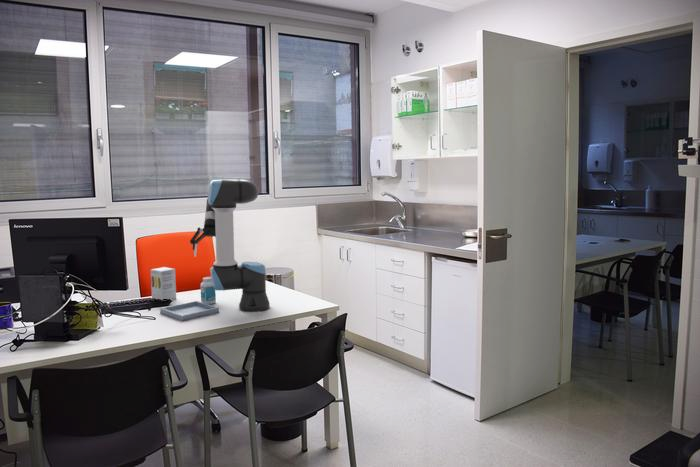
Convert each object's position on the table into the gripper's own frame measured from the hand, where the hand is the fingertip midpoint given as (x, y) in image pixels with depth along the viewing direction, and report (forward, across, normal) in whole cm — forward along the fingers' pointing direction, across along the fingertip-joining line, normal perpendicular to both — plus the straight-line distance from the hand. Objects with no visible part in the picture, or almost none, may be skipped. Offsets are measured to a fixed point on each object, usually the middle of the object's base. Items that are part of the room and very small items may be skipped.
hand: (207, 256), depth 291 cm
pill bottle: (+26, -2, -3) cm, 26 cm away
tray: (+36, +4, +12) cm, 38 cm away
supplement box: (+21, +22, -12) cm, 33 cm away
